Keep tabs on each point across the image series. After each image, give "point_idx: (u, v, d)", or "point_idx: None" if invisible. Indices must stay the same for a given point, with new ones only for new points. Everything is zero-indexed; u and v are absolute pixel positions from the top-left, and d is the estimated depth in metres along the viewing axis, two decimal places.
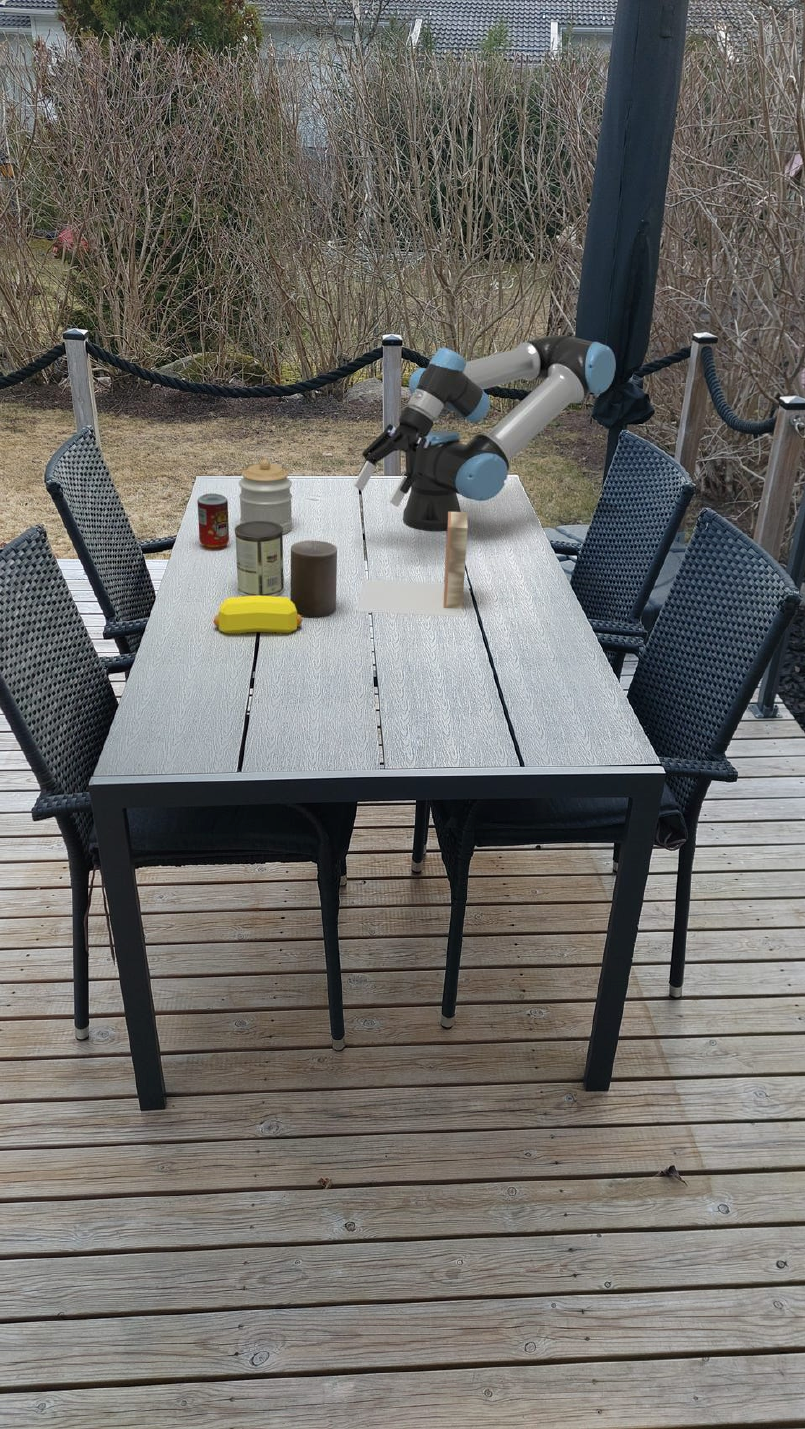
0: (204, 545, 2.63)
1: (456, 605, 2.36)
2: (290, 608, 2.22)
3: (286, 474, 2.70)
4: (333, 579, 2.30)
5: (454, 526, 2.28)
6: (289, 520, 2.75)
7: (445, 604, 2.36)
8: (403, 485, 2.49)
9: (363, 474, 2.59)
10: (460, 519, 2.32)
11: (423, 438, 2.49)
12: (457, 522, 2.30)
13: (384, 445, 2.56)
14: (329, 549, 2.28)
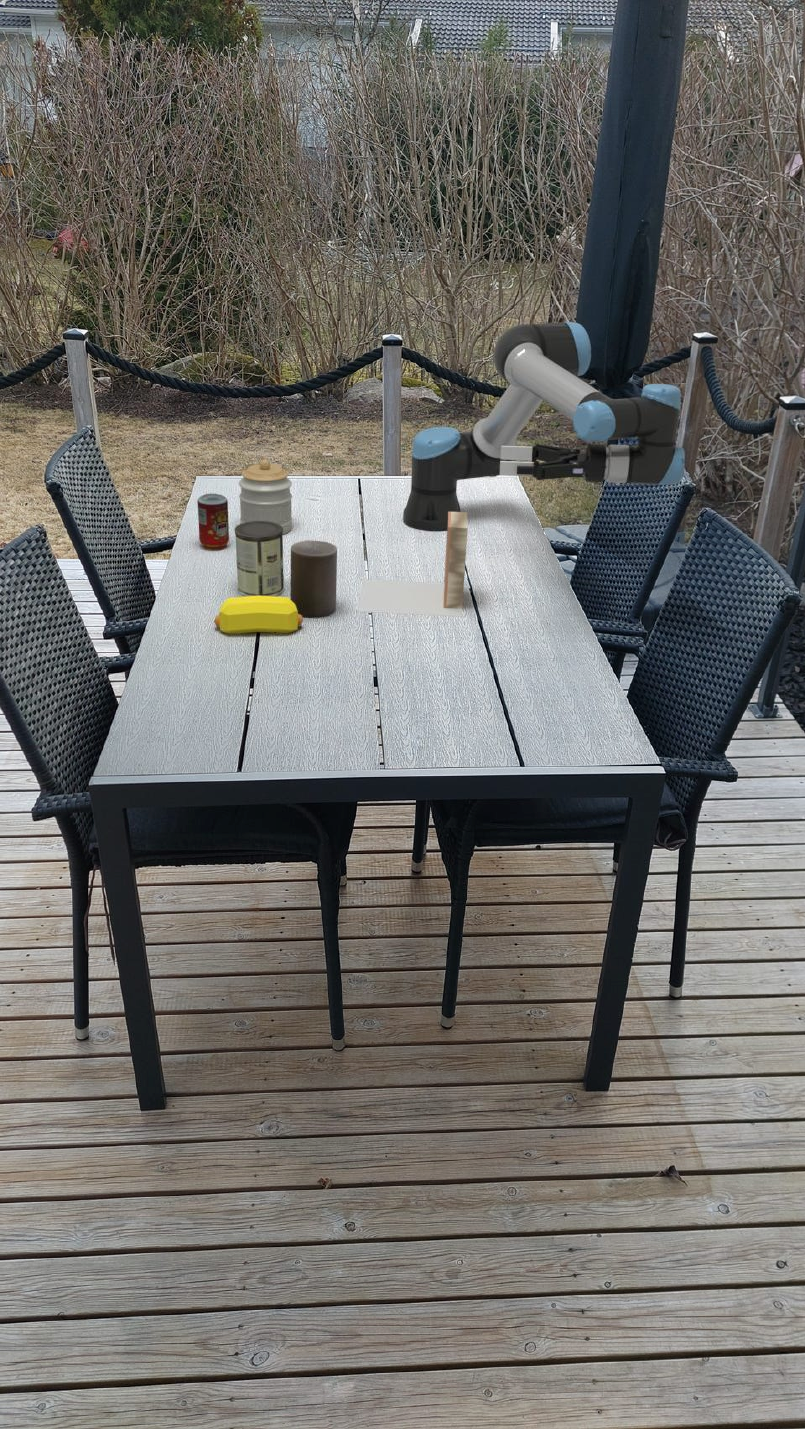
0: (204, 545, 2.63)
1: (456, 605, 2.36)
2: (291, 608, 2.22)
3: (286, 474, 2.70)
4: (333, 579, 2.30)
5: (454, 526, 2.28)
6: (289, 520, 2.75)
7: (445, 604, 2.36)
8: None
9: None
10: (460, 519, 2.32)
11: None
12: (457, 522, 2.30)
13: None
14: (329, 549, 2.28)
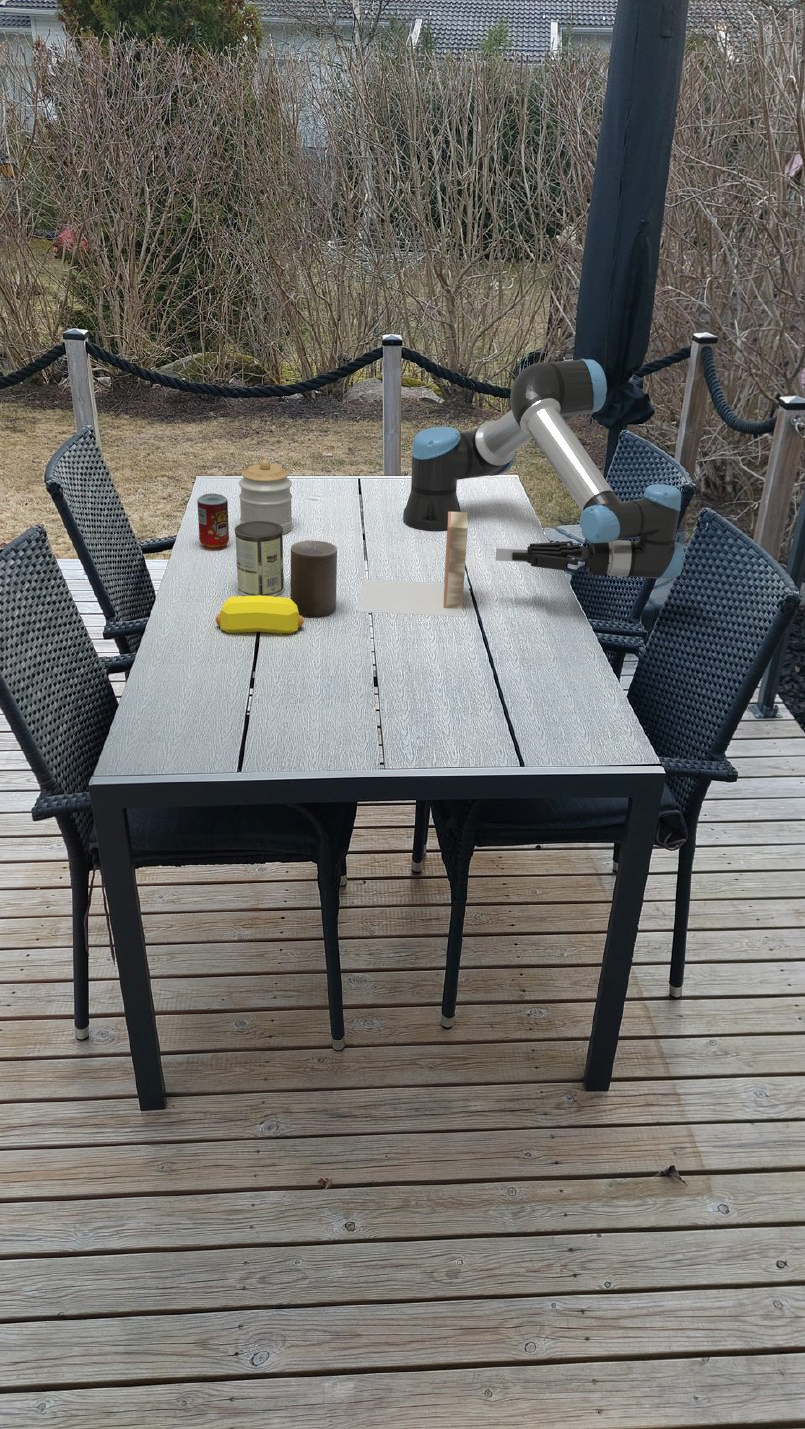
0: (204, 545, 2.63)
1: (456, 605, 2.36)
2: (291, 609, 2.22)
3: (286, 474, 2.70)
4: (333, 579, 2.30)
5: (454, 526, 2.28)
6: (289, 520, 2.75)
7: (445, 604, 2.36)
8: None
9: None
10: (460, 519, 2.32)
11: None
12: (457, 522, 2.30)
13: None
14: (329, 549, 2.28)
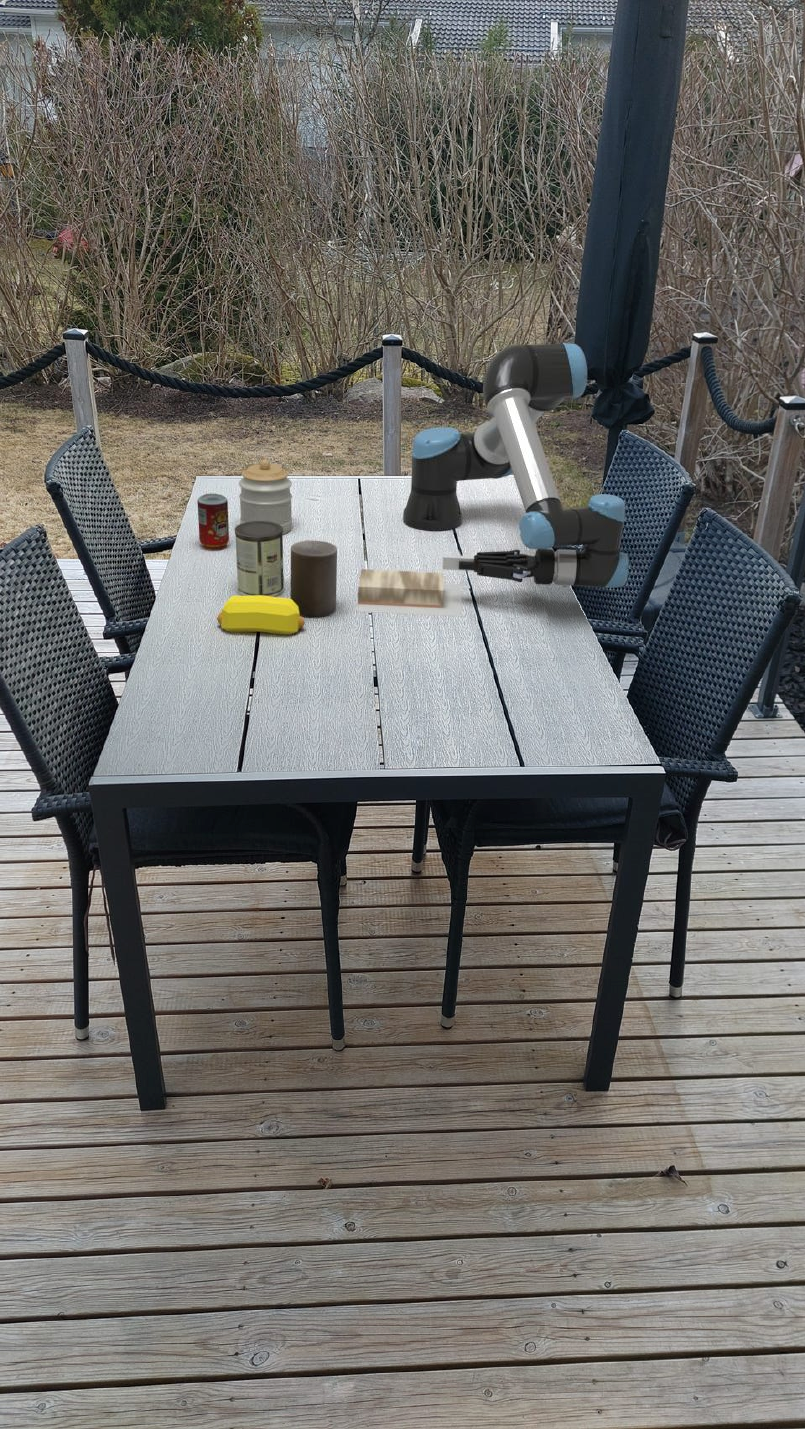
0: (204, 545, 2.63)
1: (439, 595, 2.35)
2: (291, 610, 2.22)
3: (286, 474, 2.70)
4: (333, 579, 2.30)
5: (358, 597, 2.36)
6: (289, 520, 2.75)
7: (438, 606, 2.36)
8: None
9: None
10: None
11: None
12: None
13: None
14: (329, 549, 2.28)
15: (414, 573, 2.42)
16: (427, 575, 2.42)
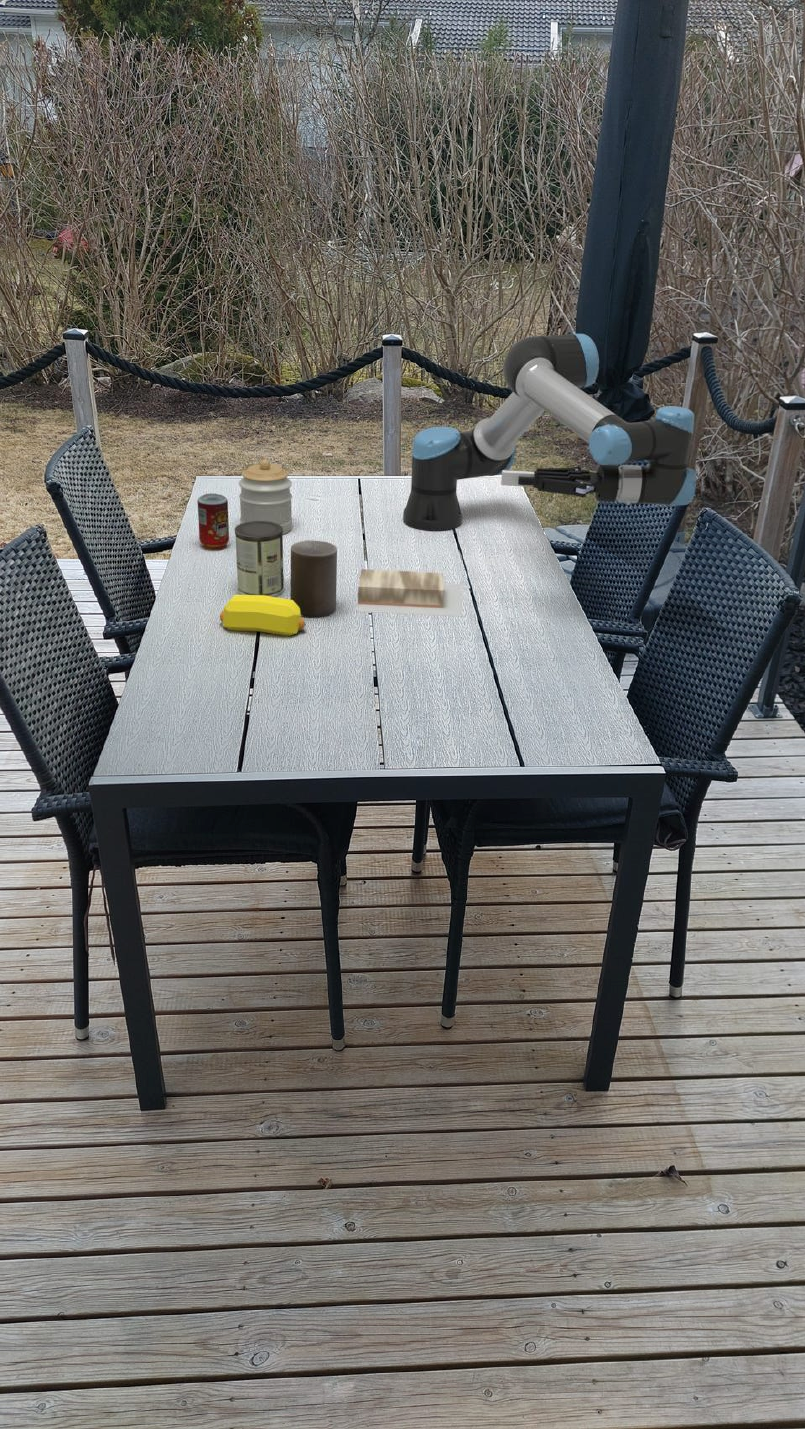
0: (204, 545, 2.63)
1: (439, 595, 2.35)
2: (290, 611, 2.21)
3: (286, 474, 2.70)
4: (333, 579, 2.30)
5: (358, 597, 2.36)
6: (289, 520, 2.75)
7: (438, 606, 2.36)
8: None
9: None
10: None
11: None
12: None
13: None
14: (329, 549, 2.28)
15: (414, 573, 2.42)
16: (427, 575, 2.42)
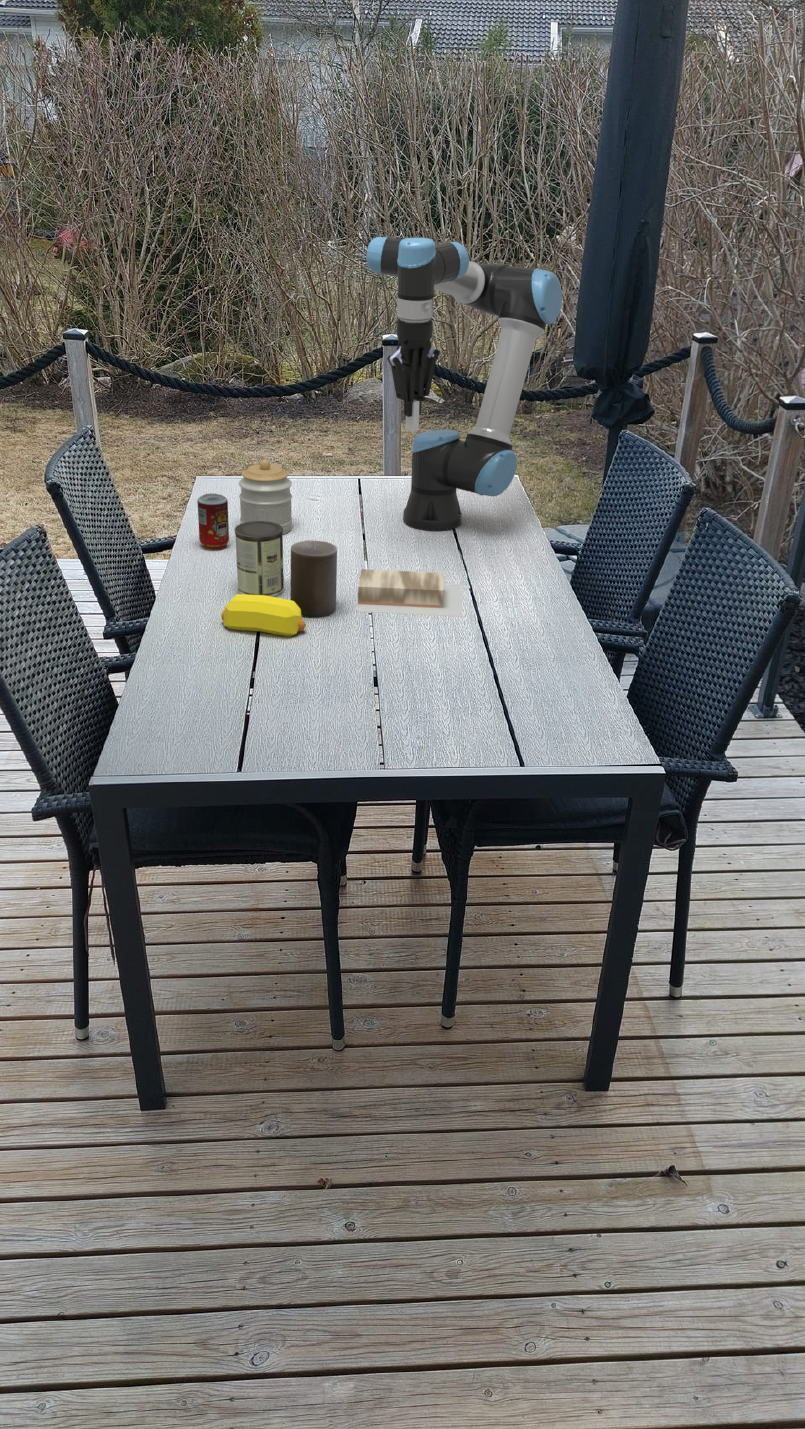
0: (204, 545, 2.63)
1: (439, 595, 2.35)
2: (290, 612, 2.21)
3: (286, 474, 2.70)
4: (333, 579, 2.30)
5: (358, 597, 2.36)
6: (289, 520, 2.75)
7: (438, 606, 2.36)
8: None
9: None
10: None
11: (438, 352, 2.38)
12: None
13: (412, 374, 2.36)
14: (329, 549, 2.28)
15: (414, 573, 2.42)
16: (427, 575, 2.42)
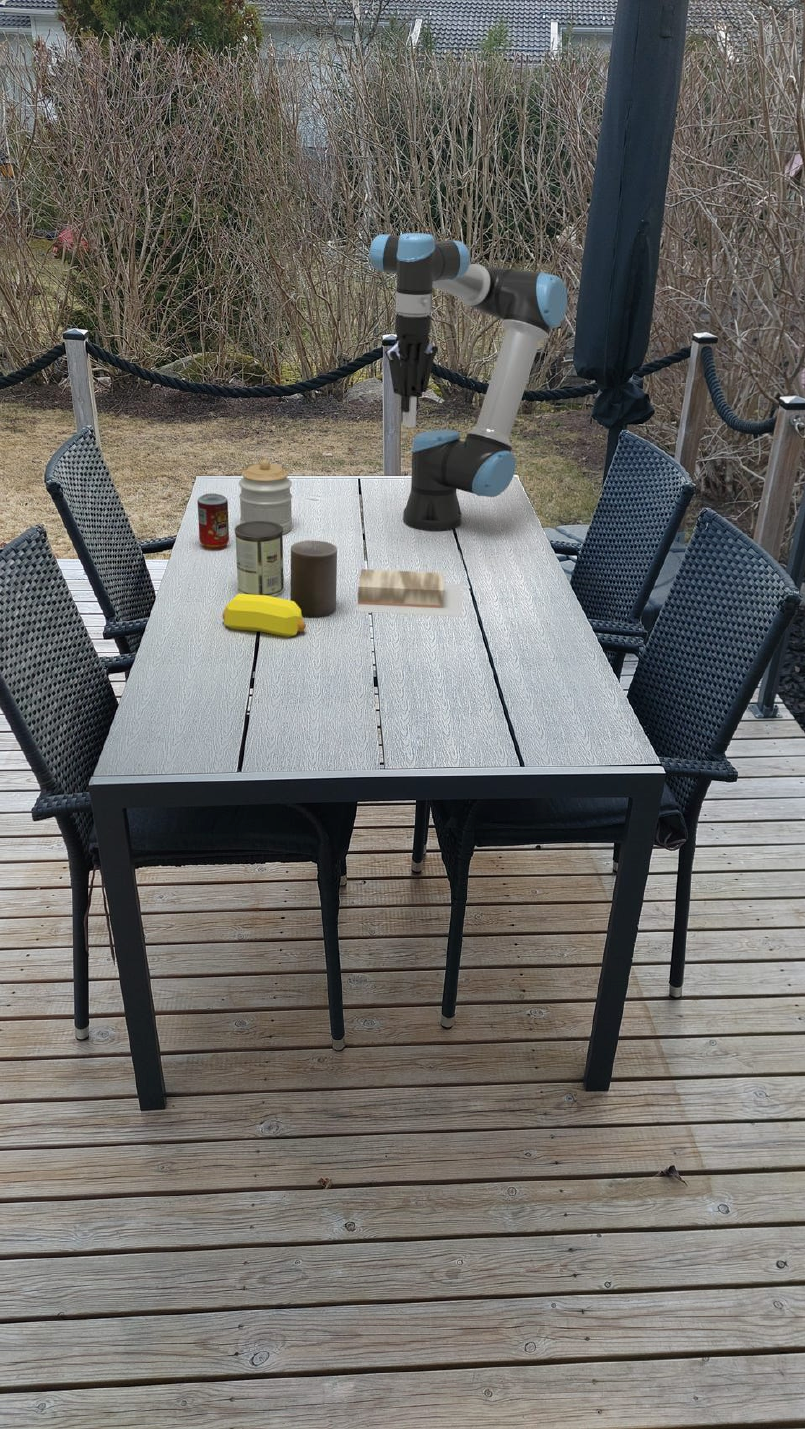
0: (204, 545, 2.63)
1: (439, 595, 2.35)
2: (290, 613, 2.21)
3: (286, 474, 2.70)
4: (333, 579, 2.30)
5: (358, 597, 2.36)
6: (289, 520, 2.75)
7: (438, 606, 2.36)
8: (415, 405, 2.42)
9: None
10: None
11: (437, 349, 2.39)
12: None
13: (409, 369, 2.37)
14: (329, 549, 2.28)
15: (414, 573, 2.42)
16: (427, 575, 2.42)
